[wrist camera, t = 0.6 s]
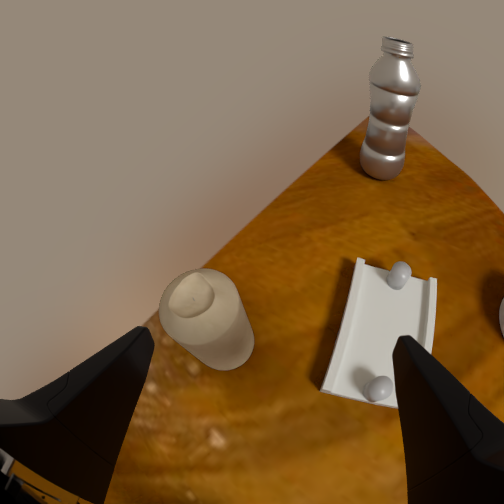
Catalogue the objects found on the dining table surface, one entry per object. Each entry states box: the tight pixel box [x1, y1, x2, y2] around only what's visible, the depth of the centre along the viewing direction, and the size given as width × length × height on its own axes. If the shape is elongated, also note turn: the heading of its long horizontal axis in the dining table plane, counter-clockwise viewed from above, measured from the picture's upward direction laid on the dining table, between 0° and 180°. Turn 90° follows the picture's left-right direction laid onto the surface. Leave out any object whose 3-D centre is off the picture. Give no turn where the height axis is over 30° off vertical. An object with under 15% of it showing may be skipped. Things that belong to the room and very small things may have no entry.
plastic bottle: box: [360, 37, 421, 180], centre depth 27 cm, size 6×7×20 cm
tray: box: [320, 258, 437, 408], centre depth 21 cm, size 13×9×3 cm
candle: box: [159, 269, 254, 370], centre depth 20 cm, size 6×6×10 cm
